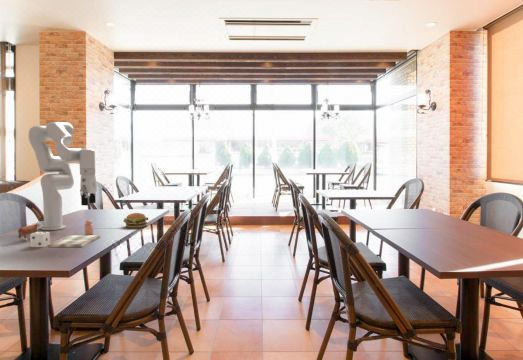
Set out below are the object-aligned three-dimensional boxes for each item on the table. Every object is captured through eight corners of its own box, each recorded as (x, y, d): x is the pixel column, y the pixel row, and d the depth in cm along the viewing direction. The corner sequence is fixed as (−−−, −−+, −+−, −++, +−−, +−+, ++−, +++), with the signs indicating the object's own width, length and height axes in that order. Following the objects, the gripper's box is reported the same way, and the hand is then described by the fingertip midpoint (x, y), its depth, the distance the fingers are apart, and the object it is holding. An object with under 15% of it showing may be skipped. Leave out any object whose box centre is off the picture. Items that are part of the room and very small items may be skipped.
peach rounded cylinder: (83, 235, 212) (83, 220, 212) (86, 234, 216) (86, 219, 216) (91, 236, 212) (90, 220, 212) (94, 234, 216) (94, 219, 216)
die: (30, 247, 187) (29, 234, 187) (37, 244, 193) (37, 231, 193) (43, 247, 187) (43, 234, 187) (50, 244, 193) (49, 231, 193)
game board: (48, 246, 188) (48, 244, 188) (69, 237, 209) (69, 235, 209) (82, 247, 188) (82, 244, 188) (100, 237, 209) (100, 235, 209)
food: (118, 227, 238) (118, 213, 237) (135, 223, 250) (135, 210, 249) (135, 229, 231) (135, 215, 231) (152, 225, 244) (152, 212, 243)
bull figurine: (44, 237, 209) (44, 221, 208) (21, 242, 196) (21, 226, 196) (38, 236, 210) (37, 221, 210) (15, 242, 198) (14, 225, 197)
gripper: (87, 172, 203) (88, 206, 204) (101, 171, 221) (102, 202, 222) (73, 172, 203) (74, 206, 204) (87, 171, 221) (88, 202, 222)
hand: (88, 204), depth 213 cm, fingers open, 9 cm apart
